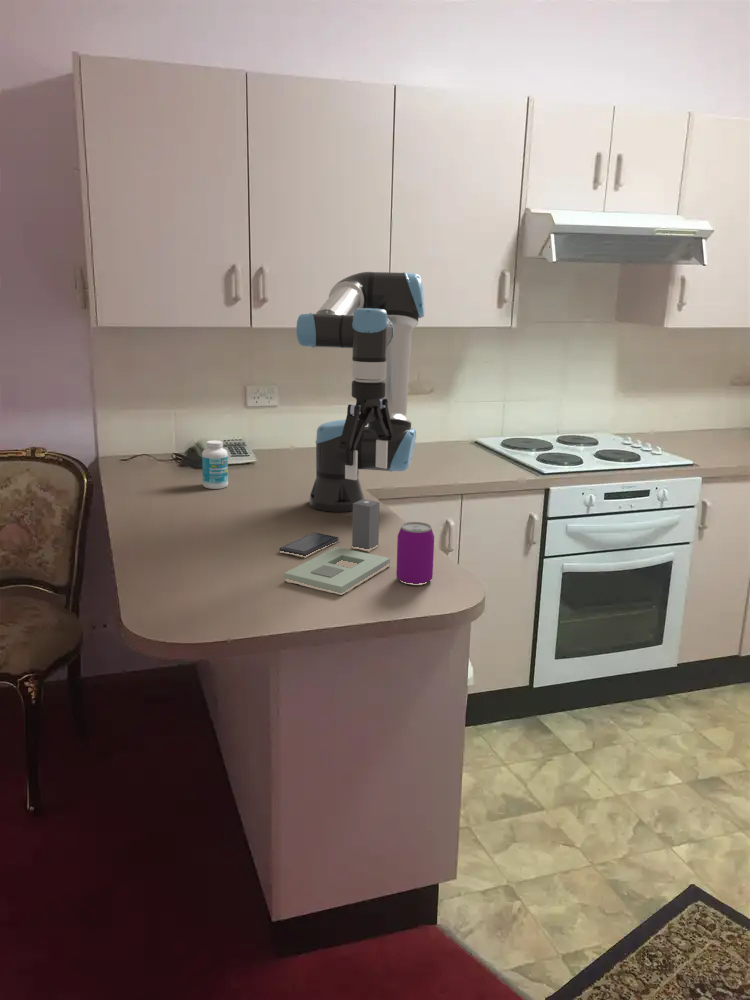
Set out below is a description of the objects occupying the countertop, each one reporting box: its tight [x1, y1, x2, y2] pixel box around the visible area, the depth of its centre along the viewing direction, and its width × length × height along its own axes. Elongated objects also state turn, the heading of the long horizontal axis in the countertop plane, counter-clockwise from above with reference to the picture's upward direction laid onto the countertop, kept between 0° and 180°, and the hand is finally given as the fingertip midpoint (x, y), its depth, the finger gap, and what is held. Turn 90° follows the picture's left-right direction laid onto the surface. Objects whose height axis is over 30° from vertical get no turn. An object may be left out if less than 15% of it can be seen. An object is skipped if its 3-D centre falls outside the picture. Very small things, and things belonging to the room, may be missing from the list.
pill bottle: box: [201, 440, 229, 490], centre depth 239 cm, size 8×7×14 cm
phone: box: [279, 532, 339, 556], centre depth 190 cm, size 14×7×1 cm, turn 150°
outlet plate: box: [283, 546, 391, 593], centre depth 174 cm, size 20×14×2 cm
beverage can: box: [395, 521, 435, 584], centre depth 170 cm, size 8×8×12 cm
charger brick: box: [351, 498, 381, 549], centre depth 189 cm, size 4×4×11 cm
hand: (366, 473), depth 186 cm, fingers open, 13 cm apart
